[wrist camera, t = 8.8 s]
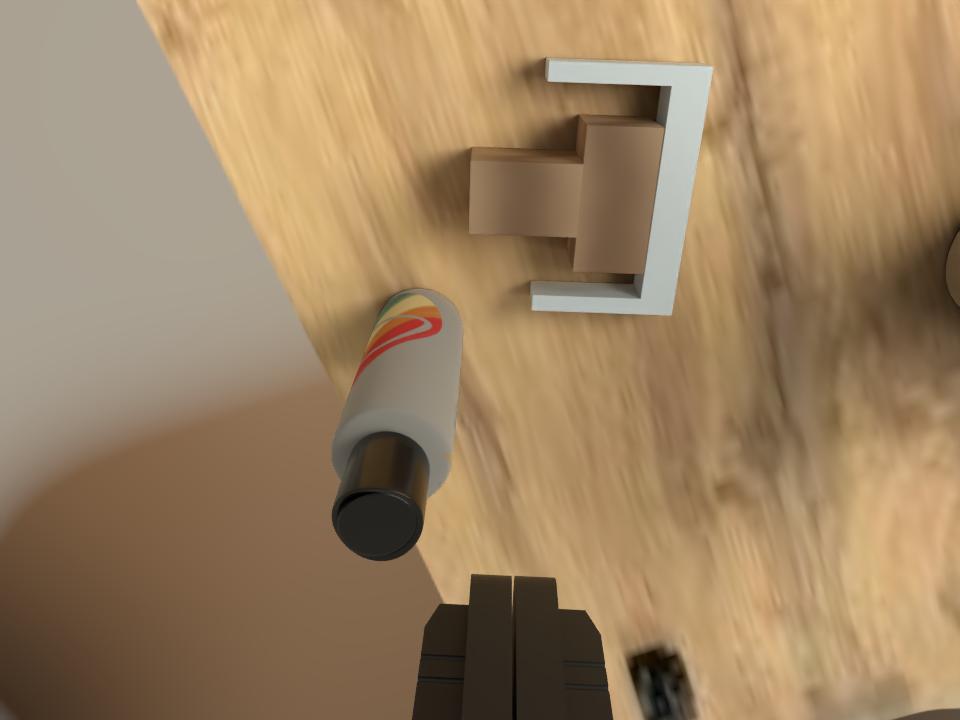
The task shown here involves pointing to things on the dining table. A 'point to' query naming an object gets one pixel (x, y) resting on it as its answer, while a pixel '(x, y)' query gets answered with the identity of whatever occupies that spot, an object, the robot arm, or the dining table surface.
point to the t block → (575, 192)
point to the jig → (674, 185)
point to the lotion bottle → (398, 425)
